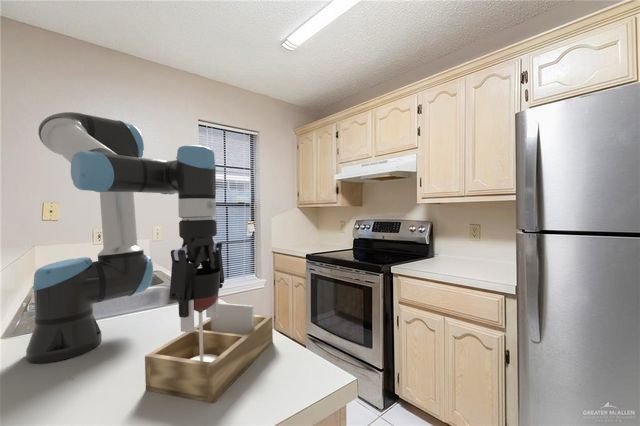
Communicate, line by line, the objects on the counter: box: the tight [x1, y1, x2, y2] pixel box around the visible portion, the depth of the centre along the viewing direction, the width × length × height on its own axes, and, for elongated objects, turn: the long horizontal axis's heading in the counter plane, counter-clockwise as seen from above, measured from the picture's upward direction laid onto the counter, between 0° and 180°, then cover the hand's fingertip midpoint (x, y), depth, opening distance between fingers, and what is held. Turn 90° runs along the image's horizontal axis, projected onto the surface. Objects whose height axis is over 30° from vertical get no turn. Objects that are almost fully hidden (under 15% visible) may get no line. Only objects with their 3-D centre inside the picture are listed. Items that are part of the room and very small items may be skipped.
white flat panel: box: [211, 302, 255, 335], centre depth 76 cm, size 12×1×11 cm, turn 74°
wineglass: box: [184, 267, 220, 362], centre depth 64 cm, size 8×9×20 cm
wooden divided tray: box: [144, 314, 274, 404], centre depth 70 cm, size 16×26×7 cm, turn 164°
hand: (200, 323), depth 64 cm, fingers closed on wineglass, 7 cm apart
